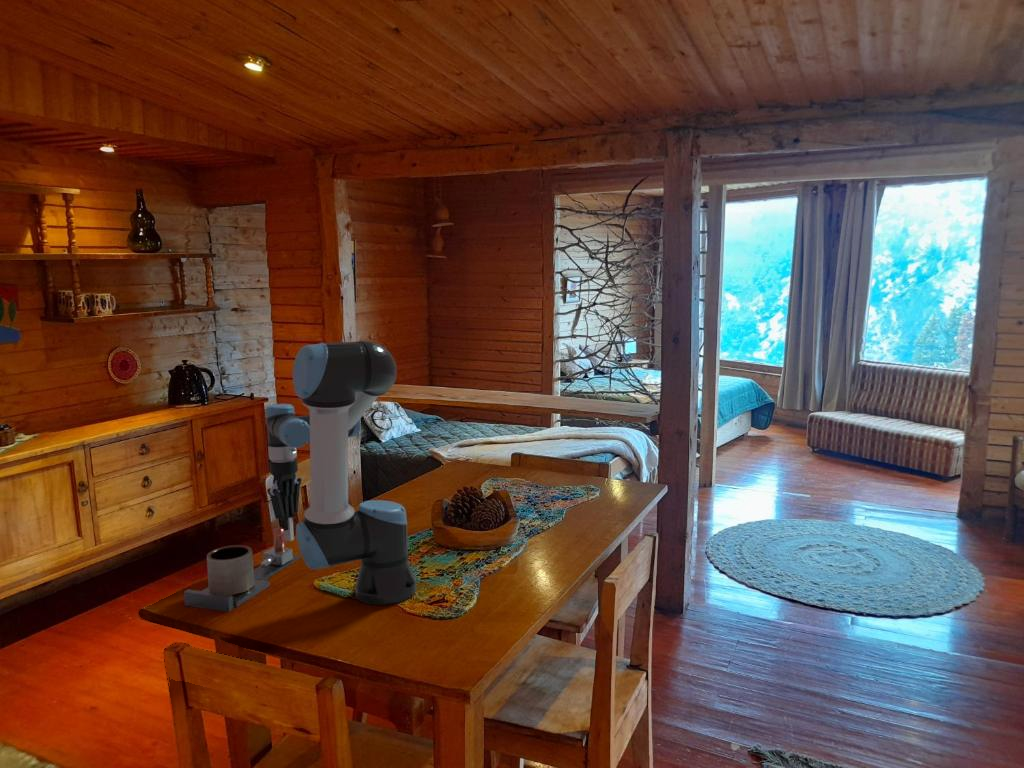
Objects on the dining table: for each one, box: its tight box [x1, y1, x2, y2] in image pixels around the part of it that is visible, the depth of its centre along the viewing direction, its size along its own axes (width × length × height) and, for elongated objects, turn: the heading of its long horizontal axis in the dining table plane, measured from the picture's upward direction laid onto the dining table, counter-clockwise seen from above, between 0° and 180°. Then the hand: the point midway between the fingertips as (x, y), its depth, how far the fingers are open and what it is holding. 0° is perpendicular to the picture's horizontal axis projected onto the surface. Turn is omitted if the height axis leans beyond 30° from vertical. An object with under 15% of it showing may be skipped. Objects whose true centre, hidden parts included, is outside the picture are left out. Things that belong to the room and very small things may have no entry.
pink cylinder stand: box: [260, 526, 294, 568], centre depth 201 cm, size 9×6×9 cm, turn 162°
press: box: [183, 555, 301, 613], centre depth 193 cm, size 34×13×4 cm, turn 162°
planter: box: [206, 544, 255, 596], centre depth 184 cm, size 11×11×10 cm
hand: (288, 539), depth 208 cm, fingers closed
